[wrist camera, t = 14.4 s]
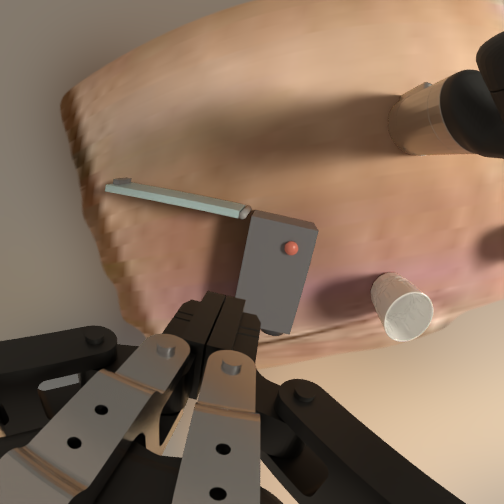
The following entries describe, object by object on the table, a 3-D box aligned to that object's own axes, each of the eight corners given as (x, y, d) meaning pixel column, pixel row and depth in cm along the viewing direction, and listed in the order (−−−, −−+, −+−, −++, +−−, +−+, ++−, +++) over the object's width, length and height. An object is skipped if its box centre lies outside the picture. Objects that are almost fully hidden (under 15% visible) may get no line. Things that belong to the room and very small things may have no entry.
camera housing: (255, 209, 45) (251, 216, 39) (313, 222, 45) (318, 231, 39) (234, 311, 50) (228, 331, 44) (286, 323, 50) (287, 344, 44)
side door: (253, 200, 45) (248, 206, 38) (250, 212, 45) (245, 220, 39) (127, 176, 45) (106, 179, 39) (125, 187, 46) (105, 191, 40)
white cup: (364, 273, 47) (382, 299, 37) (408, 263, 45) (433, 286, 36) (368, 316, 48) (384, 347, 39) (409, 305, 47) (432, 334, 38)
